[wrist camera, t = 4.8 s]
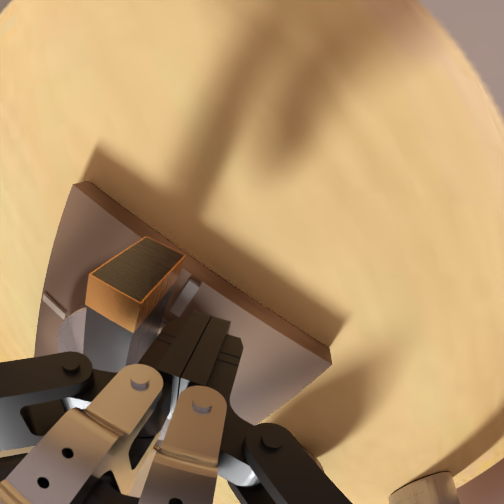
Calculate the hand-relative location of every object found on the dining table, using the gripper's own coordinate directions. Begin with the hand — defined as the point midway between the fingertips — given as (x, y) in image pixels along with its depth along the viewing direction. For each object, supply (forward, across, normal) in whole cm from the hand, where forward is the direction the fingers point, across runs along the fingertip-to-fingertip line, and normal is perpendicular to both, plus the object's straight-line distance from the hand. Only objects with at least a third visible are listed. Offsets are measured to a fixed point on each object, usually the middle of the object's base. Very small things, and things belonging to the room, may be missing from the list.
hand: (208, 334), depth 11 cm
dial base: (+5, +5, +7) cm, 10 cm away
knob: (+3, +4, +5) cm, 7 cm away
